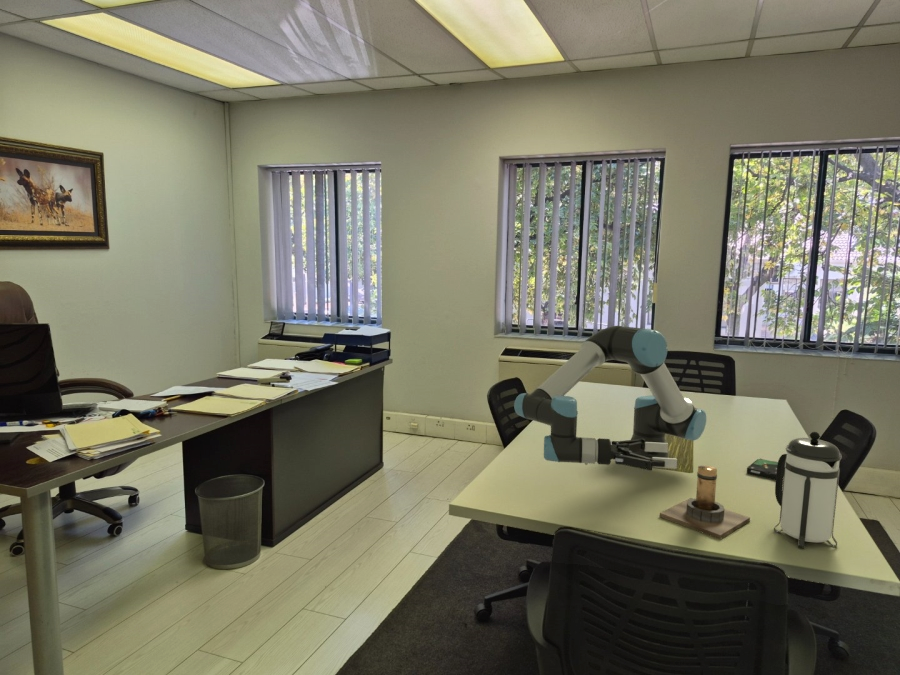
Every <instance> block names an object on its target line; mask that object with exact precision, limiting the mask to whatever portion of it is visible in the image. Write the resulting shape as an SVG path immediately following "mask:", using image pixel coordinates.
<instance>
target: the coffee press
mask: <svg viewBox="0 0 900 675" xmlns="http://www.w3.org/2000/svg"><path fill="white" fill-rule="evenodd" d="M820 438H821V436H820V433H819V432H818V431H812V432H811V433H810V434H809V437H798V438H794V439H792V440H790V441H789V442H788V444H786V446H785V451H786V453H783V454H781V455H780V457H779V459H778V461H777V462H778V465H777V473H776V480H775V483H774V486H775V487H774V495H775V499H776V502H777V503H778V505H779V506H780V512H779V522H778V523H777V524H776V525H775V526H774V528H773V532H774V533H780V532H783V533H785V534H787V535H788V536H790V537H792V538H794V539H797V540H798V542H797V548H798V549H802V550H803V549H805V545H806V542H807V543H825V542H826V543H827V544H829V546H831V547H832V548H836V547H837V546H838V542H837V540H836V539H835V536H834V527H835V526H834V525H835V516H836V507H837V497H838V489H839V480H840V472H841V470H840V462H841V460H842V455H843V454H842V453H841V452H840V449H839V448H838V446H836V445H835V444H833V443H832V442H829V441H825V440H822V439H820ZM784 467H785V469H784ZM779 525H780V528H781V529H779V530H777V529H776V528H777V527H778V526H779ZM831 538H832V541H833V542H834V543H835V544H833V543H831V541H830V539H831Z"/></svg>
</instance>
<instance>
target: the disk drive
mask: <svg viewBox="0 0 900 675" xmlns="http://www.w3.org/2000/svg"><path fill="white" fill-rule="evenodd" d="M777 465H778V461H774V460H768V459H763V458H758V459H756V460H754V461H753V462H752V463H751V464H750V465H749V466H747V468H746V474H747V475H751V476H757V477H760V478H764V479H769V480H773V481H776V473H777ZM784 469H785V467H784Z"/></svg>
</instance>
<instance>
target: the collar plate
mask: <svg viewBox="0 0 900 675" xmlns="http://www.w3.org/2000/svg"><path fill="white" fill-rule="evenodd" d="M659 517H660V518H662V519H664V520H668V521H670V522H672V523H676V524H678V525H680V524H681V526H683V525H684V526H683V527H685V528H688V527H689V528H688V529H691V528H692V529H691V530H694V531H696V530H697V532H699V531H700V533H702V532H703V534H705V535H707V534H708V536H710V535H711V537H712V538H715V537H716V539H719V540H721V538H722V539H723V538H725V537H726V536H728V535H730V534H732V533H733V532H734V531H736V530H738V529H739V528H742V527H743V526H745V525H746V524H749V522H751V517H750V516H747V515H743V514H741V513H737V512H736V511H732V510H730V509H729V510H728V509H727V508H725V506H724V505H723V504H721V503H720V502H718V501H715V507H714V511H708V510H702V509H699V508H696V498H693V497H690V498H688V499H686V500H683V501H682V502H679V503H677V504H676V505H673V506H671V507H669V508H667V509H665V510H663V511H661V512H659Z"/></svg>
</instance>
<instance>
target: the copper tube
mask: <svg viewBox="0 0 900 675" xmlns="http://www.w3.org/2000/svg"><path fill="white" fill-rule="evenodd" d="M696 476H697V481H696V482H697V483H696V495H695V496H696V497H695V499H696V508H699V509H702V510H708V511H714V507H715V502H716V492H717V491H716V490H717V489H716V488H717V478H718V469H717V468H716V467H714V466H710V465H699V466H698V467H697V472H696Z"/></svg>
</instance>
